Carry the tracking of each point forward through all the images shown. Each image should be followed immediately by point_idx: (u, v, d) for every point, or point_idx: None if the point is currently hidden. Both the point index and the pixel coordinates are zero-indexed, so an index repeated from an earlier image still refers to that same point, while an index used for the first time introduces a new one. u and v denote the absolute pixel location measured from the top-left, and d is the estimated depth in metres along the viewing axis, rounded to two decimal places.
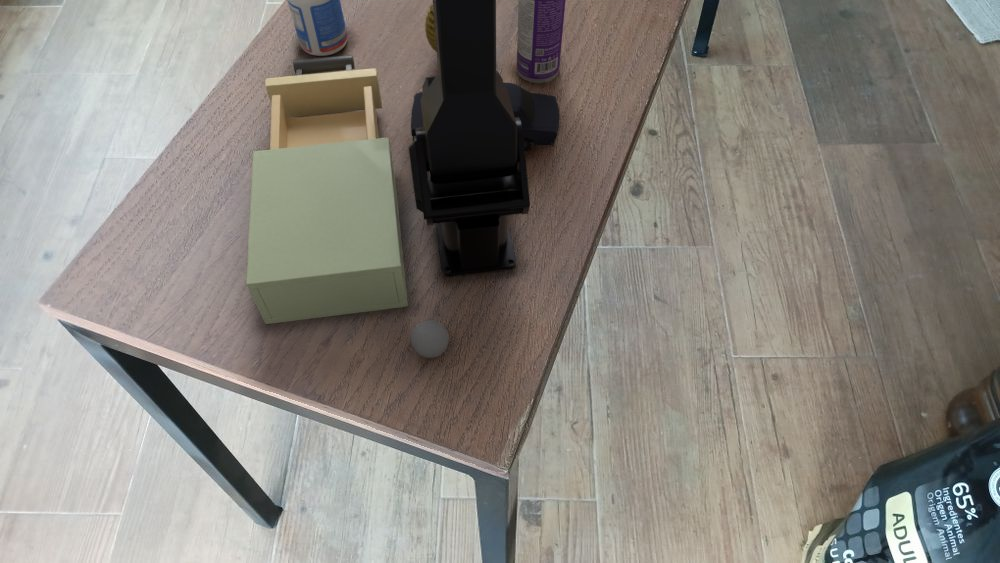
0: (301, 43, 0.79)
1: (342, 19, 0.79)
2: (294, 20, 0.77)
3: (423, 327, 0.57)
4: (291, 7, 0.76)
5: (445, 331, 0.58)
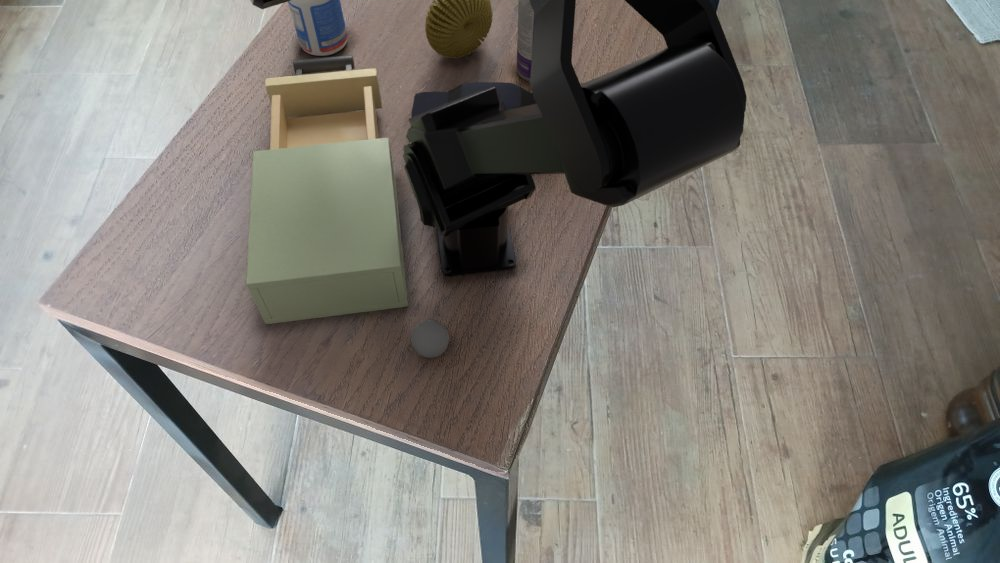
0: (301, 43, 0.79)
1: (342, 19, 0.79)
2: (294, 20, 0.77)
3: (423, 327, 0.57)
4: (291, 7, 0.76)
5: (445, 331, 0.58)
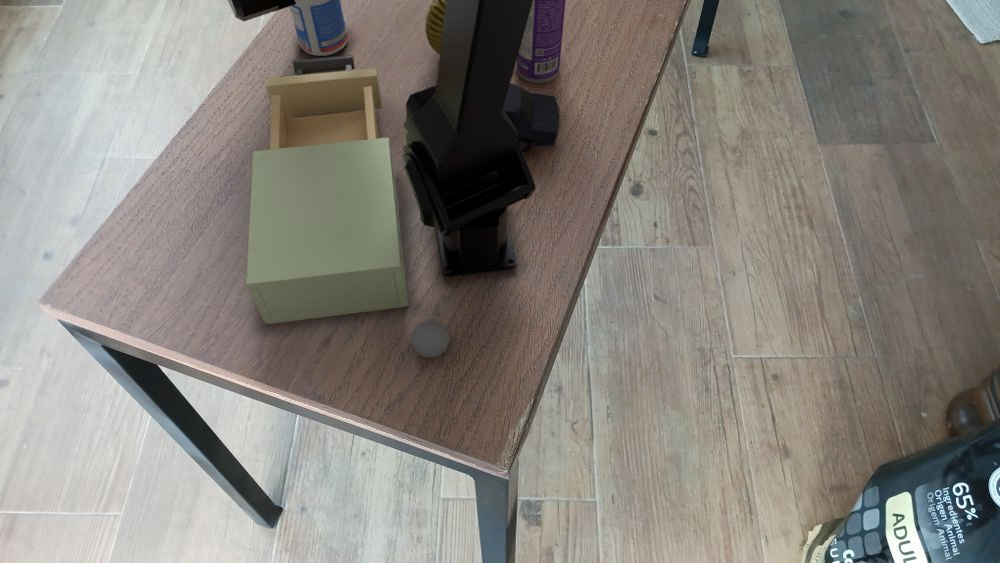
0: (301, 43, 0.79)
1: (342, 19, 0.79)
2: (294, 20, 0.77)
3: (423, 327, 0.57)
4: (291, 7, 0.76)
5: (445, 331, 0.58)
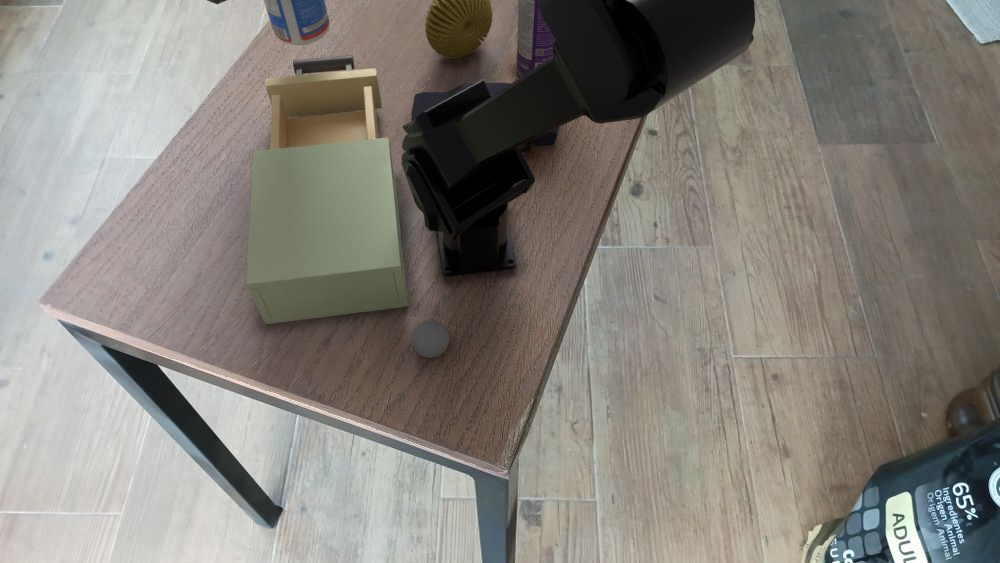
0: (277, 32, 0.68)
1: None
2: (268, 5, 0.66)
3: (423, 327, 0.57)
4: None
5: (445, 331, 0.58)
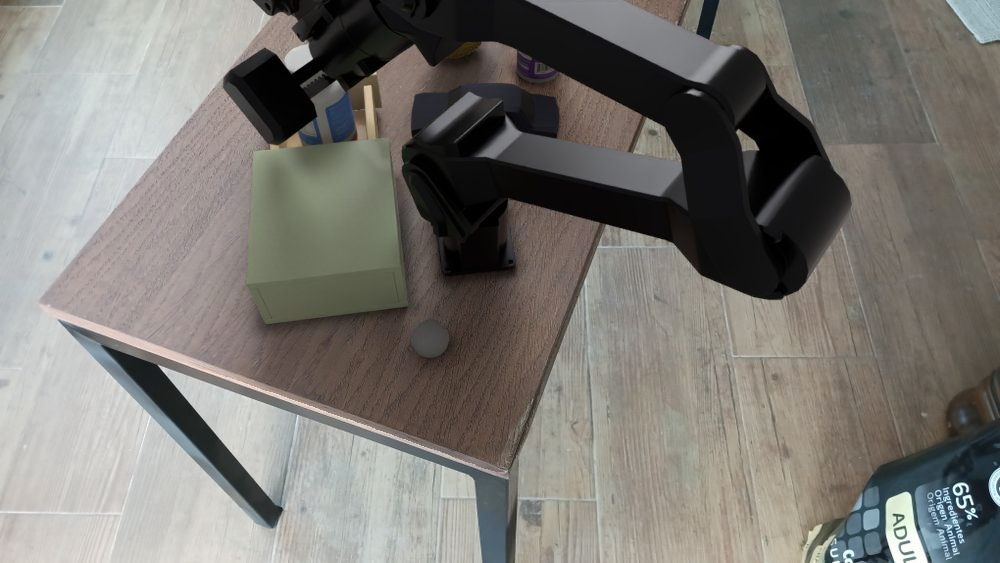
0: None
1: (352, 111, 0.68)
2: None
3: (423, 327, 0.57)
4: None
5: (445, 331, 0.58)
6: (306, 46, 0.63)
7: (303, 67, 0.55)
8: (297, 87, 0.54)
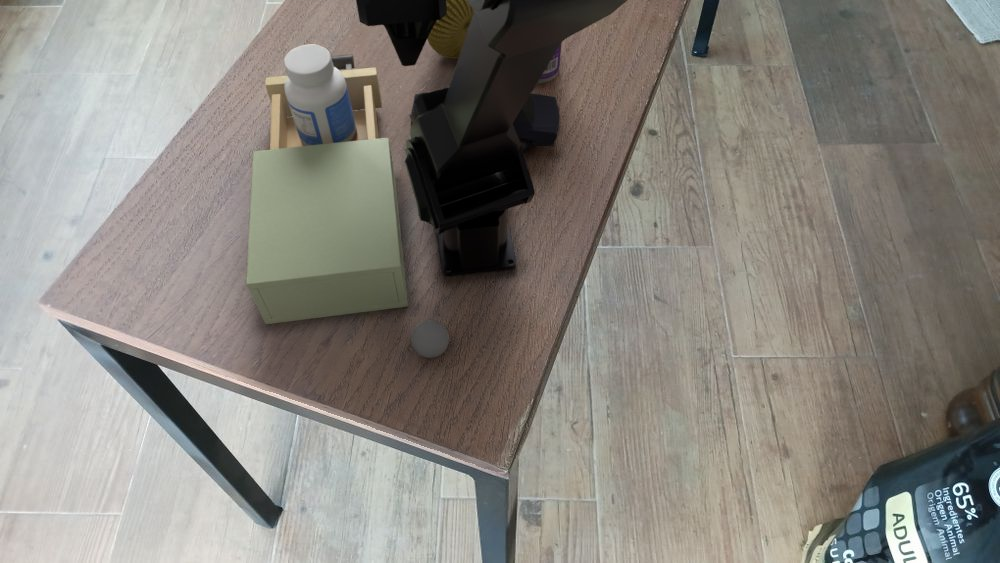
0: None
1: (352, 111, 0.68)
2: (302, 127, 0.65)
3: (423, 327, 0.57)
4: (299, 113, 0.64)
5: (445, 331, 0.58)
6: (306, 46, 0.63)
7: None
8: None
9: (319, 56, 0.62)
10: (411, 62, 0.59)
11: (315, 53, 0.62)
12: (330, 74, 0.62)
